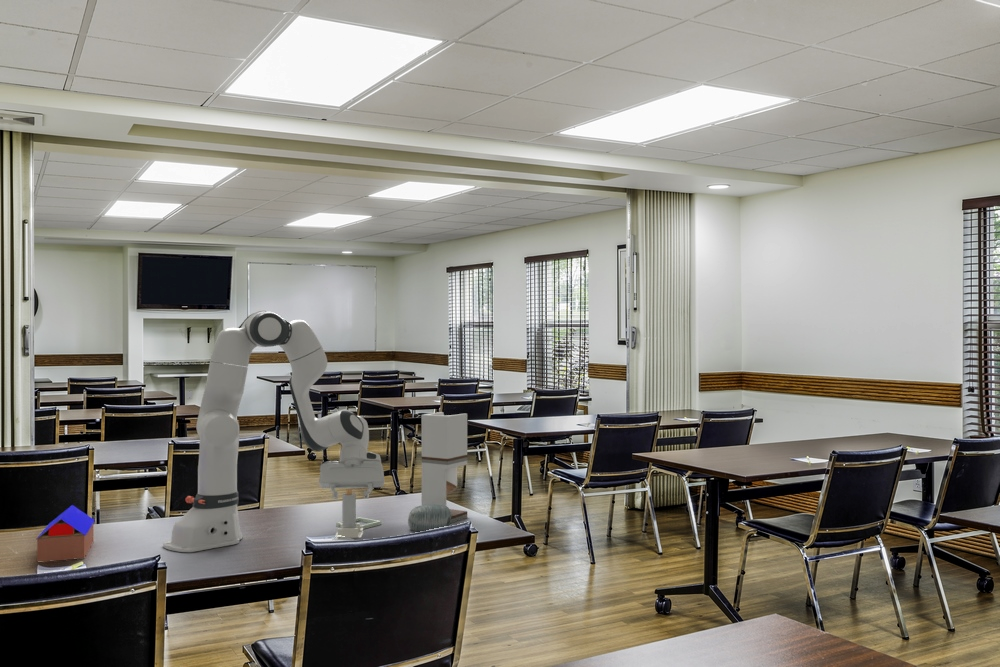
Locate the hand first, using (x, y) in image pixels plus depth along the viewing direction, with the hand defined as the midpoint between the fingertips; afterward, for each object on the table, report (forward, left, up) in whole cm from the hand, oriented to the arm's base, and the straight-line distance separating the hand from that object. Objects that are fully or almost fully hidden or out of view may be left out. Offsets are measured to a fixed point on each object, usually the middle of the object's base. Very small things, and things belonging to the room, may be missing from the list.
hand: (350, 497), depth 248 cm
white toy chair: (-2, -1, -11) cm, 11 cm away
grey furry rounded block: (+17, -17, -11) cm, 27 cm away
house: (-61, +51, -12) cm, 80 cm away
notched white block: (+33, -10, -11) cm, 36 cm away
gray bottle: (-3, -2, -10) cm, 11 cm away
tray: (+7, +4, -11) cm, 14 cm away
